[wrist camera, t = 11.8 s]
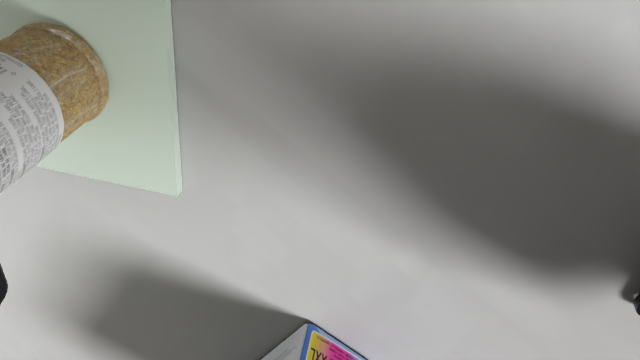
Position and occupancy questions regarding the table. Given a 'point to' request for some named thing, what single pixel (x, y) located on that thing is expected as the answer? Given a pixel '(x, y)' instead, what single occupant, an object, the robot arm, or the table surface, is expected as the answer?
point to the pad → (118, 90)
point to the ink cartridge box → (311, 347)
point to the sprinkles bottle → (44, 94)
